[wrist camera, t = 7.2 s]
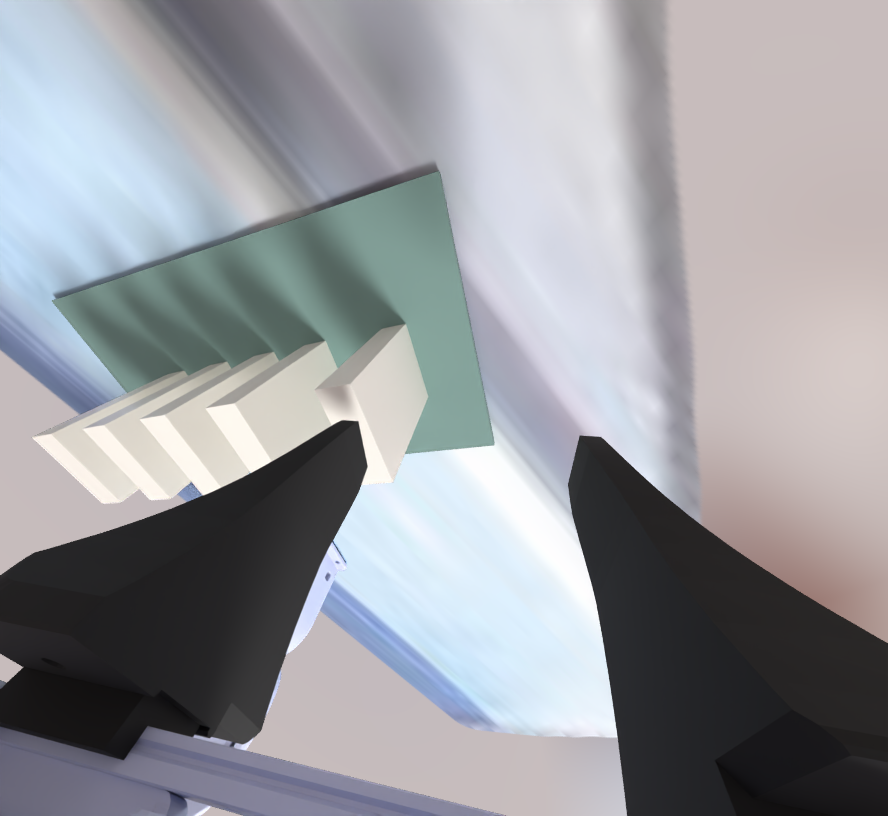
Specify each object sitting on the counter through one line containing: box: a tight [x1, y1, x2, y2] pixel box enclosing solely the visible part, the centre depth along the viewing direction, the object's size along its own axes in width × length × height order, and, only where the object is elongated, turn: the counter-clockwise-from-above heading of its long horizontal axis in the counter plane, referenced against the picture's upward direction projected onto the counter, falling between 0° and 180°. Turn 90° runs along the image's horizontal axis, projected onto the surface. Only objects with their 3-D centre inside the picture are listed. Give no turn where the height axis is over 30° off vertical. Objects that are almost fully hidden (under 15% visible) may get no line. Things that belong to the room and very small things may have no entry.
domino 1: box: [83, 362, 231, 500], centre depth 20 cm, size 5×2×8 cm, turn 14°
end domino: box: [32, 371, 188, 504], centre depth 21 cm, size 5×2×8 cm, turn 14°
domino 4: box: [314, 324, 428, 485], centre depth 16 cm, size 5×2×8 cm, turn 14°
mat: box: [52, 171, 494, 454], centre depth 22 cm, size 16×28×1 cm, turn 104°
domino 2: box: [140, 352, 279, 495], centre depth 19 cm, size 5×2×8 cm, turn 14°
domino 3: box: [205, 341, 338, 473], centre depth 18 cm, size 5×2×8 cm, turn 14°
